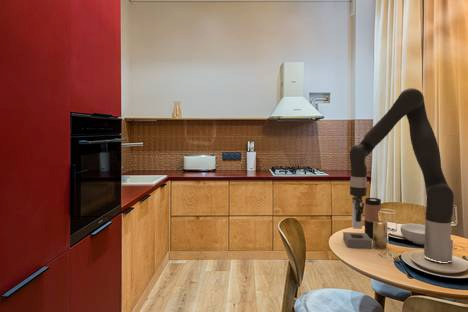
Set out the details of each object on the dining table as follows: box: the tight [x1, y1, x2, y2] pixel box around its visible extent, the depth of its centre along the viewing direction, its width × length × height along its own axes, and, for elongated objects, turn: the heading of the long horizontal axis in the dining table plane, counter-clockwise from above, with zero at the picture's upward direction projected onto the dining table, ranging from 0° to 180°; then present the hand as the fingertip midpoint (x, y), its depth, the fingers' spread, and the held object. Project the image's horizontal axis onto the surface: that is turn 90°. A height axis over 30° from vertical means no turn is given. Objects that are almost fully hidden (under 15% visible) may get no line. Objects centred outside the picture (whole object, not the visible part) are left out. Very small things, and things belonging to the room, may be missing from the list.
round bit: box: [372, 220, 388, 250], centre depth 144 cm, size 6×6×12 cm
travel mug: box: [364, 197, 382, 239], centre depth 158 cm, size 8×8×20 cm
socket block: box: [342, 231, 373, 250], centre depth 148 cm, size 11×11×4 cm
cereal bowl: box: [400, 223, 425, 246], centre depth 150 cm, size 17×17×7 cm
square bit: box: [351, 202, 364, 230], centre depth 147 cm, size 4×4×12 cm
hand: (357, 220), depth 147 cm, fingers closed on square bit, 4 cm apart
